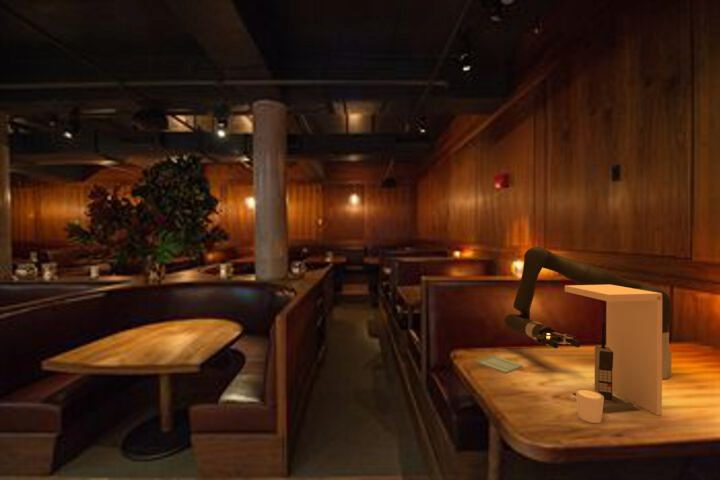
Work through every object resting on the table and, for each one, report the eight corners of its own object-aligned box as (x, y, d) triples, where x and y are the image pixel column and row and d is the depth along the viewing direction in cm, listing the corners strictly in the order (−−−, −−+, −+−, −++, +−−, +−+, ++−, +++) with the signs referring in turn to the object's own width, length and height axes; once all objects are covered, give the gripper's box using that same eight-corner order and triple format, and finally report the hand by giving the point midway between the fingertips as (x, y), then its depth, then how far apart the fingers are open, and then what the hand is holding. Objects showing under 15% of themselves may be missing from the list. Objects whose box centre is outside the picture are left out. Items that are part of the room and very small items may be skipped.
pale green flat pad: (523, 368, 136) (523, 364, 136) (506, 375, 129) (506, 371, 129) (494, 358, 147) (494, 355, 147) (476, 364, 140) (476, 361, 140)
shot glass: (570, 412, 101) (570, 389, 101) (591, 410, 102) (591, 388, 102) (587, 424, 94) (587, 400, 94) (610, 423, 95) (610, 399, 95)
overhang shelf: (610, 387, 117) (610, 284, 117) (661, 414, 99) (662, 293, 99) (564, 390, 115) (564, 285, 115) (608, 418, 97) (608, 294, 97)
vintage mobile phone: (599, 403, 106) (599, 324, 105) (594, 396, 110) (594, 320, 110) (613, 405, 104) (613, 325, 104) (608, 398, 109) (608, 321, 109)
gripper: (523, 323, 138) (550, 335, 122) (555, 322, 140) (586, 334, 124) (523, 342, 138) (550, 356, 122) (555, 340, 140) (586, 354, 124)
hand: (568, 345), depth 123 cm, fingers open, 8 cm apart
